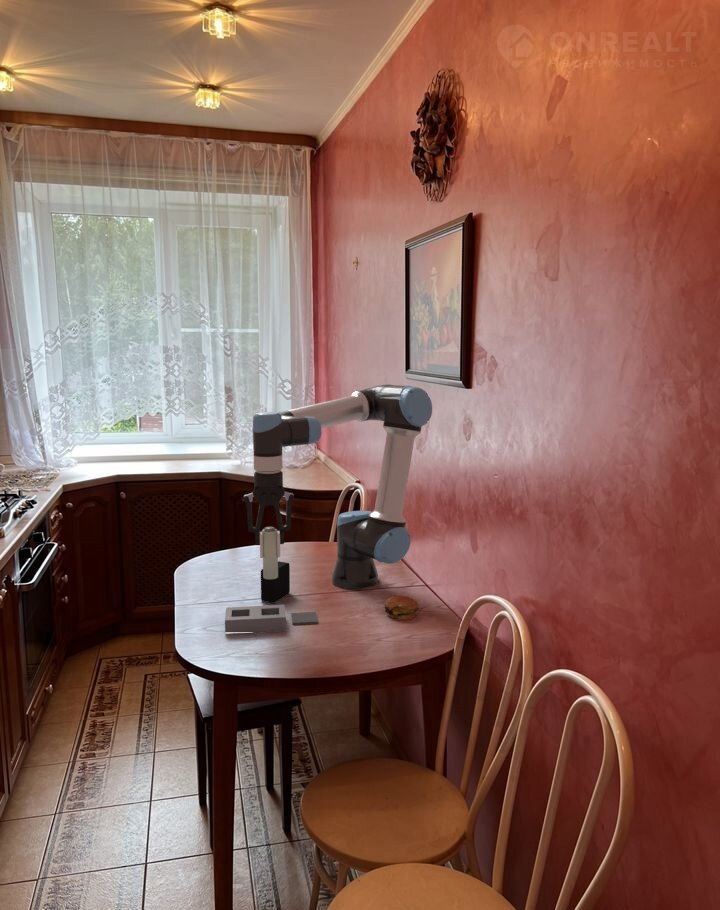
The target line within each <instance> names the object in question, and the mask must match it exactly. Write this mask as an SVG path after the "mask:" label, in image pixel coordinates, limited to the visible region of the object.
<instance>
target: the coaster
mask: <svg viewBox="0 0 720 910" xmlns="http://www.w3.org/2000/svg"><path fill="white" fill-rule="evenodd" d="M290 615H291V622H292V623H291V625H292V626H296V625H298V626H299V625H300V626H301V625H313V624H314V625H315V624H316V625H317V624H319V620H318V616H317V615H318V614H317V611H305V612H291V613H290Z"/></svg>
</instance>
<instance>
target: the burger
mask: <svg viewBox="0 0 720 910" xmlns="http://www.w3.org/2000/svg"><path fill="white" fill-rule="evenodd" d="M384 609H385V613H386V614H387V616H389V617H390V618H392V619H395V618H396V619H397V620H399V621H409V620H413V619H414V618H416V616H417V614H418V613H419V611H420V608H419V605H418V601H417V600H416V599H414V598H412V597H410V596H406V595H394V596H391V597H389V598H387V599H386V600H385V602H384Z"/></svg>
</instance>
